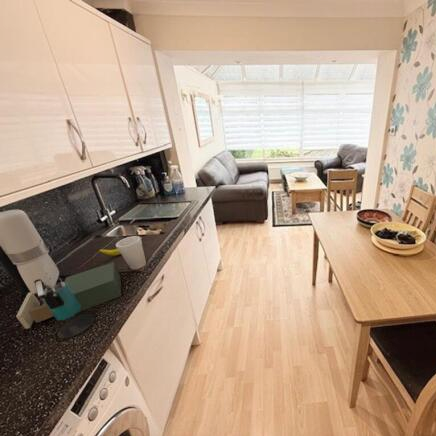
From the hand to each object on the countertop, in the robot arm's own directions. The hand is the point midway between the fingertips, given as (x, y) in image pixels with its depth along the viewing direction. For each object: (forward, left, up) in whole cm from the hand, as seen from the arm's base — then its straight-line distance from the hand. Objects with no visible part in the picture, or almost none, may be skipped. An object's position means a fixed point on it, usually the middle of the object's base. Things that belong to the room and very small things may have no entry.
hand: (59, 299), depth 75 cm
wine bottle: (-17, +36, -12) cm, 42 cm away
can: (0, 0, -6) cm, 6 cm away
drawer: (-7, +15, -11) cm, 20 cm away
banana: (+15, +45, -12) cm, 49 cm away
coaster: (0, 0, -12) cm, 12 cm away
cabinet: (+5, +15, -12) cm, 20 cm away
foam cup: (+20, +27, -12) cm, 36 cm away
